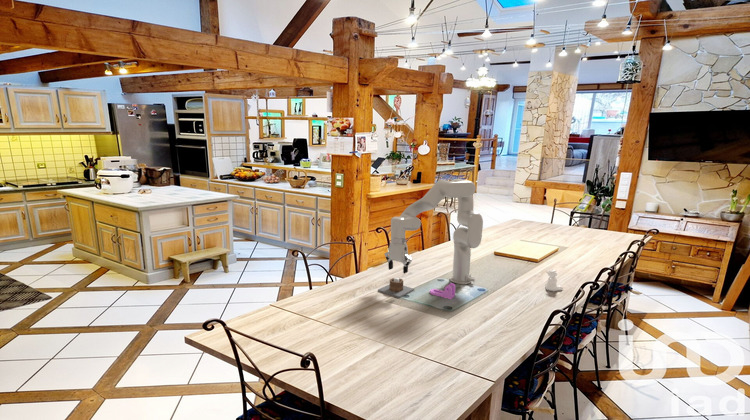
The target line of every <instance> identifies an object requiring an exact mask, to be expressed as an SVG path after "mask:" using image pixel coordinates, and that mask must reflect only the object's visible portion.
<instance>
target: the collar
mask: <svg viewBox="0 0 750 420" xmlns="http://www.w3.org/2000/svg"><path fill="white" fill-rule="evenodd" d="M394 278H395V277H392V278H389V284H390V286H389V288H390V290H391V291H394V292H400V291H402V290H403V286H404V279H402V278H399V277H398V278H399V282H394Z"/></svg>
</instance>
